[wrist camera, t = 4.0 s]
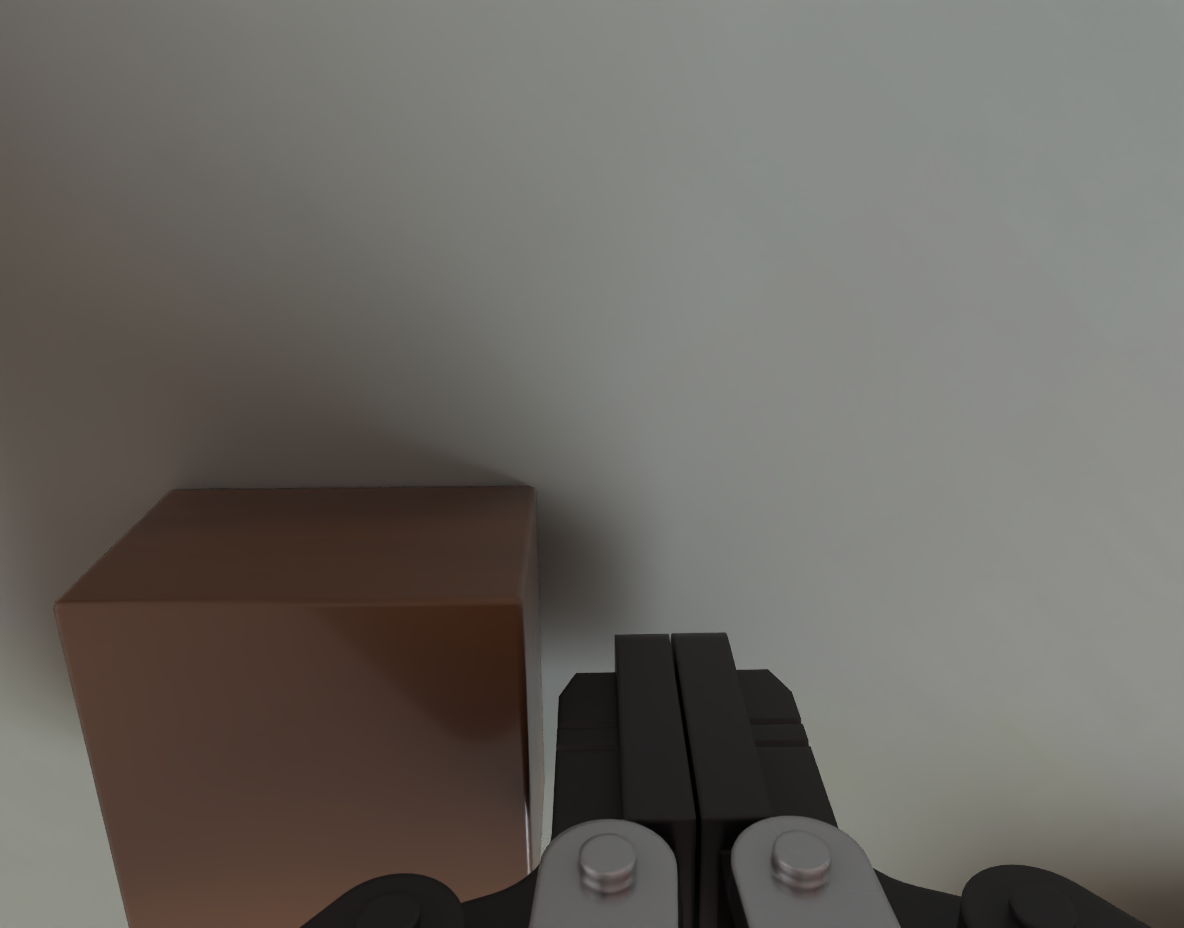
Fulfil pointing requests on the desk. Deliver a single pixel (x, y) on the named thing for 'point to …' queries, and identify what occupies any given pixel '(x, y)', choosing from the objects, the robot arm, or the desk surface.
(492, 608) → the brown wooden block
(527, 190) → the desk surface
